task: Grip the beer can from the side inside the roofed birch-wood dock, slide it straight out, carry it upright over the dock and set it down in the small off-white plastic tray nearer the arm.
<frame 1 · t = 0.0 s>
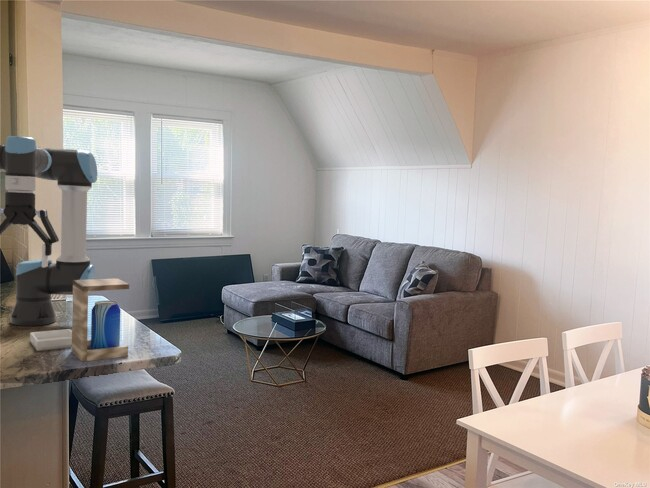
hand: (19, 266, 159), 28 cm above the table, tool pointing down, fingers open, 13 cm apart
dock: (105, 352, 175), on the table
beer can: (105, 353, 175), on the table
tray: (54, 343, 181), on the table
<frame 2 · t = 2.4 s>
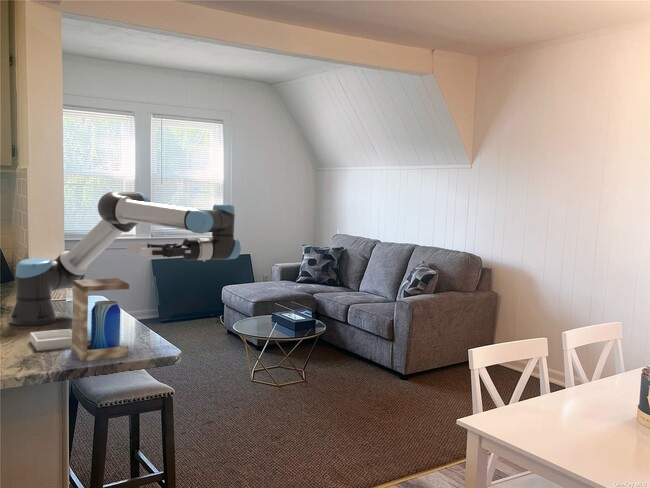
hand: (133, 250, 177), 32 cm above the table, tool horizontal, fingers open, 13 cm apart
nothing on the table moved.
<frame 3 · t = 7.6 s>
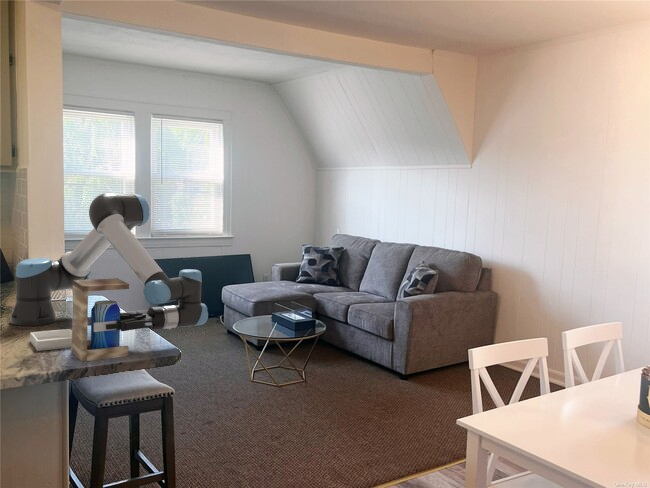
hand: (90, 324, 171), 10 cm above the table, tool horizontal, fingers closed on beer can, 8 cm apart
beer can: (105, 353, 175), on the table, touching gripper
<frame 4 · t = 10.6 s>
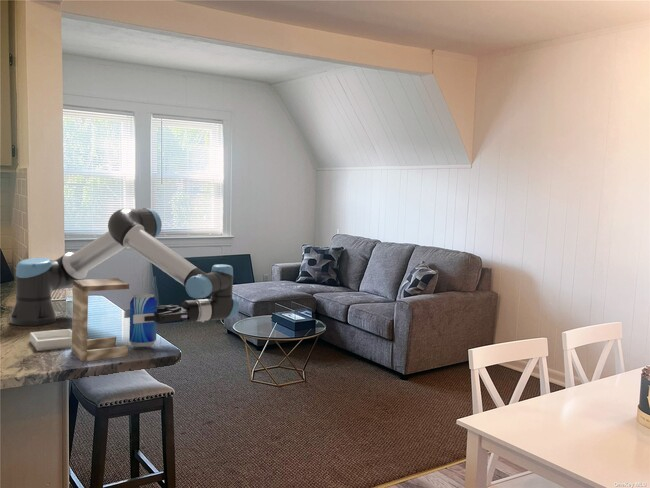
hand: (129, 316, 178), 11 cm above the table, tool horizontal, fingers closed on beer can, 8 cm apart
beer can: (142, 344, 182), point 1 cm above the table, touching gripper
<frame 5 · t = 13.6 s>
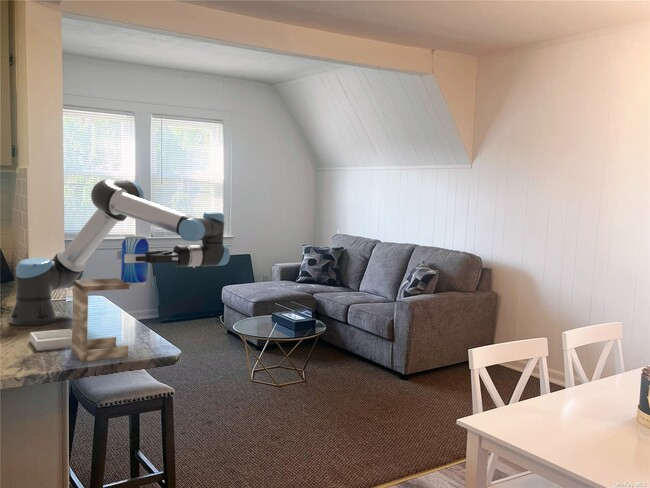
hand: (120, 256, 182), 29 cm above the table, tool horizontal, fingers closed on beer can, 8 cm apart
beer can: (134, 285, 186), point 20 cm above the table, touching gripper
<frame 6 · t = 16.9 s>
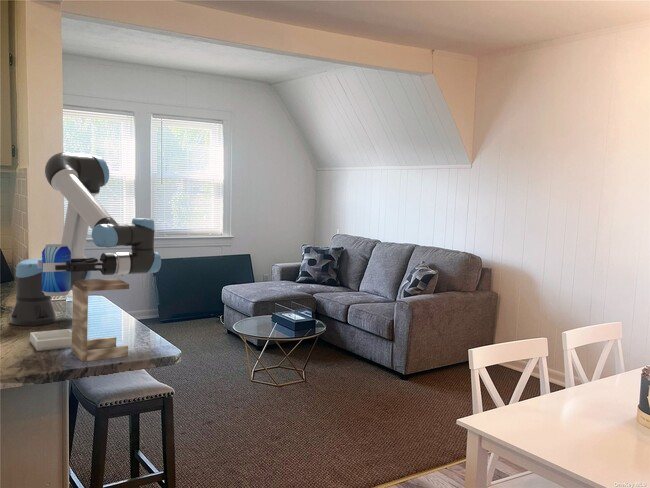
hand: (40, 265, 176), 26 cm above the table, tool horizontal, fingers closed on beer can, 8 cm apart
beer can: (56, 294, 180), point 16 cm above the table, touching gripper
when the fingers open (12 cm above the table, at t = 19.7 s): beer can drops 2 cm, resting on tray.
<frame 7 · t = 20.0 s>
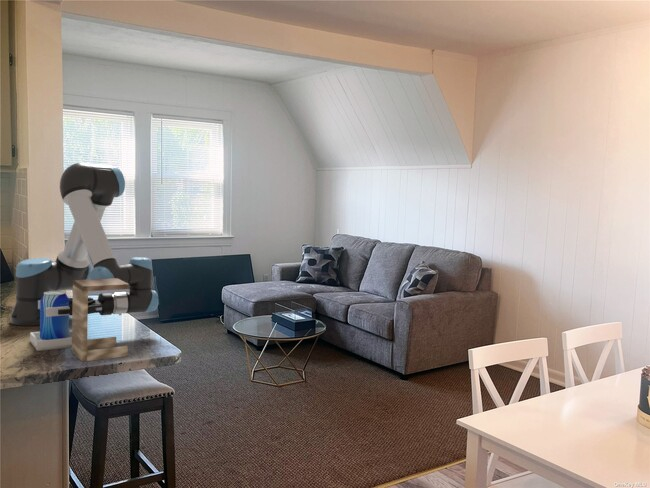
hand: (41, 308, 178), 12 cm above the table, tool horizontal, fingers open, 11 cm apart
beer can: (54, 341, 182), point 1 cm above the table, touching tray
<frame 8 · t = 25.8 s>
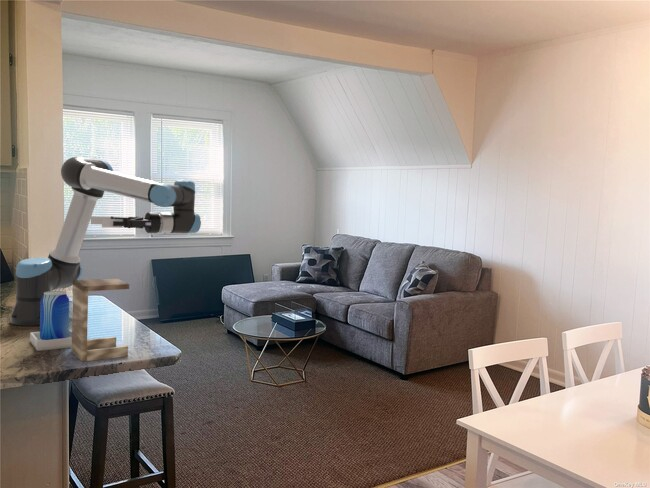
hand: (96, 221, 188), 40 cm above the table, tool horizontal, fingers open, 13 cm apart
nothing on the table moved.
at the end: beer can 0.4 cm off-centre on the tray, point 0.6 cm above the tray's base; beer can tilted 0°; the gripper is holding nothing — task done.
